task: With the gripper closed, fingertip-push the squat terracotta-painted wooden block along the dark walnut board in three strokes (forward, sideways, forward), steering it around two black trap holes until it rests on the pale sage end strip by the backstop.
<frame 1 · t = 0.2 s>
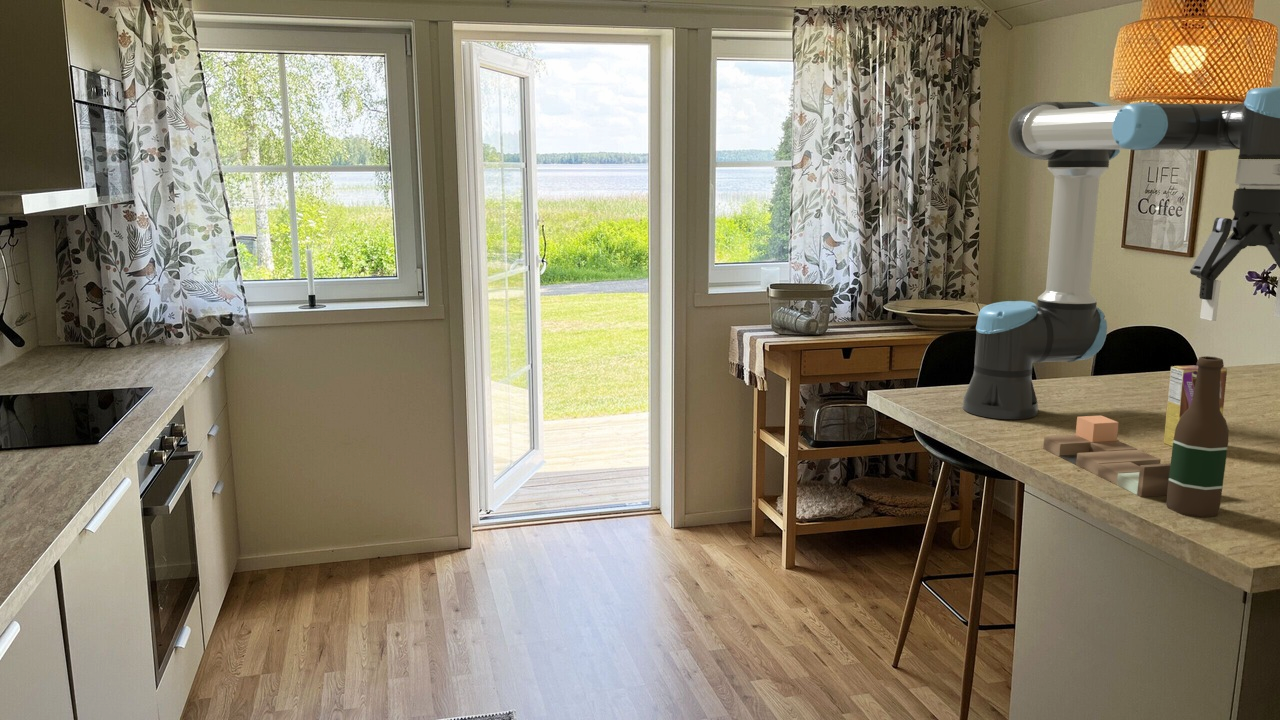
hand: (1245, 318, 160), 28 cm above the countertop, fingers open, 13 cm apart
candy box: (1190, 446, 185), on the countertop
beer bottle: (1192, 510, 151), on the countertop
board: (1117, 468, 171), on the countertop
block: (1095, 437, 182), point 2 cm above the countertop, touching board
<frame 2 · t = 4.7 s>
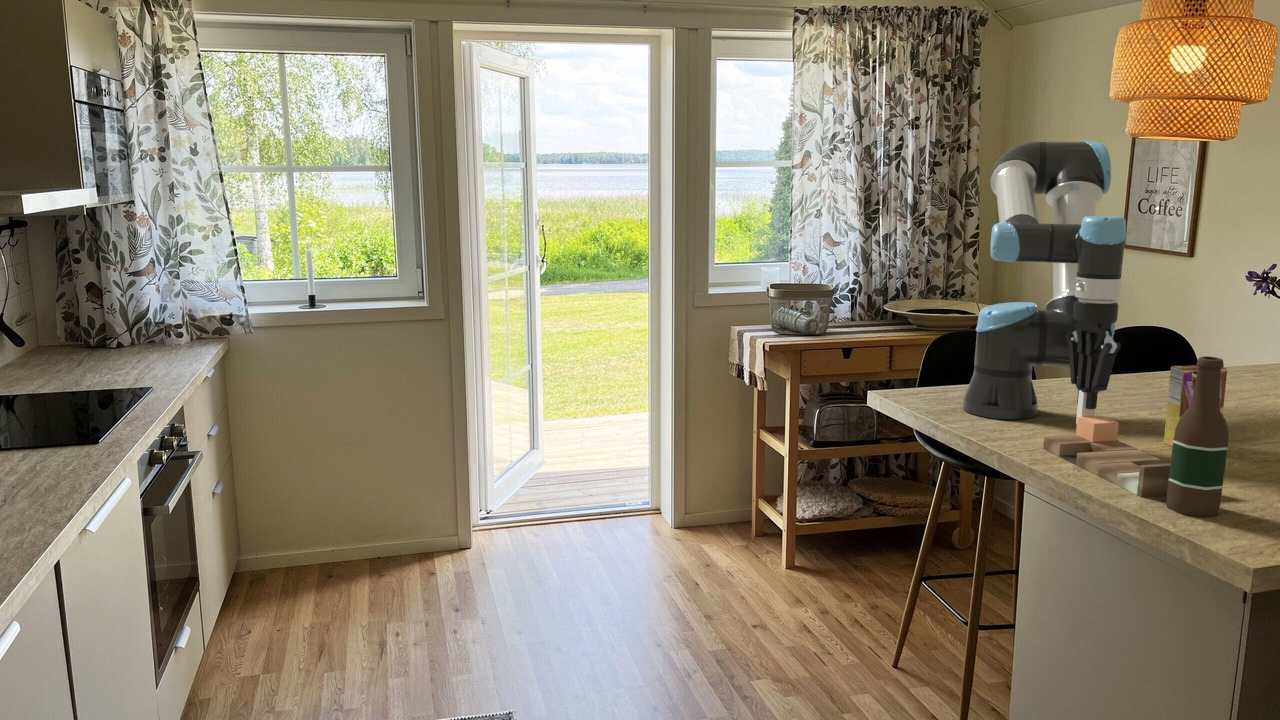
hand: (1084, 424, 184), 4 cm above the countertop, fingers closed
block: (1096, 437, 181), point 2 cm above the countertop, touching gripper
everything else where it was.
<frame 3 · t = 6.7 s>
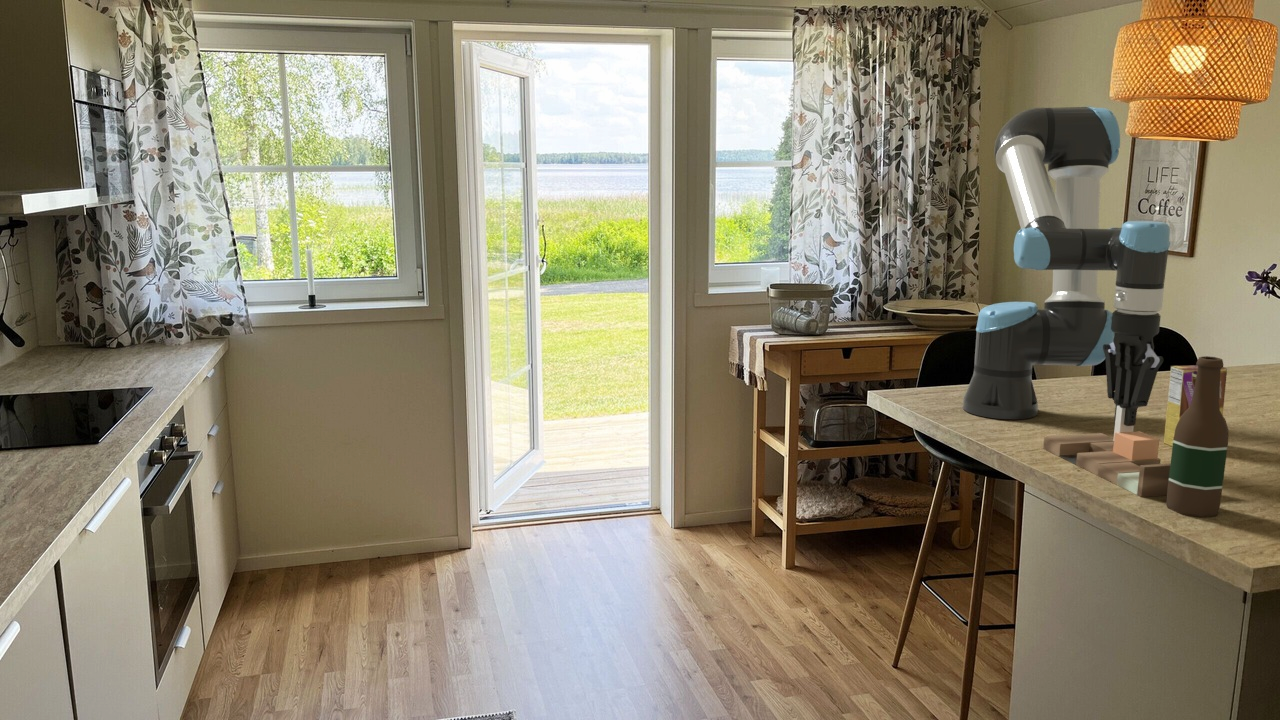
hand: (1122, 441, 174), 4 cm above the countertop, fingers closed
block: (1134, 455, 171), point 2 cm above the countertop, touching board, gripper
everything else where it was.
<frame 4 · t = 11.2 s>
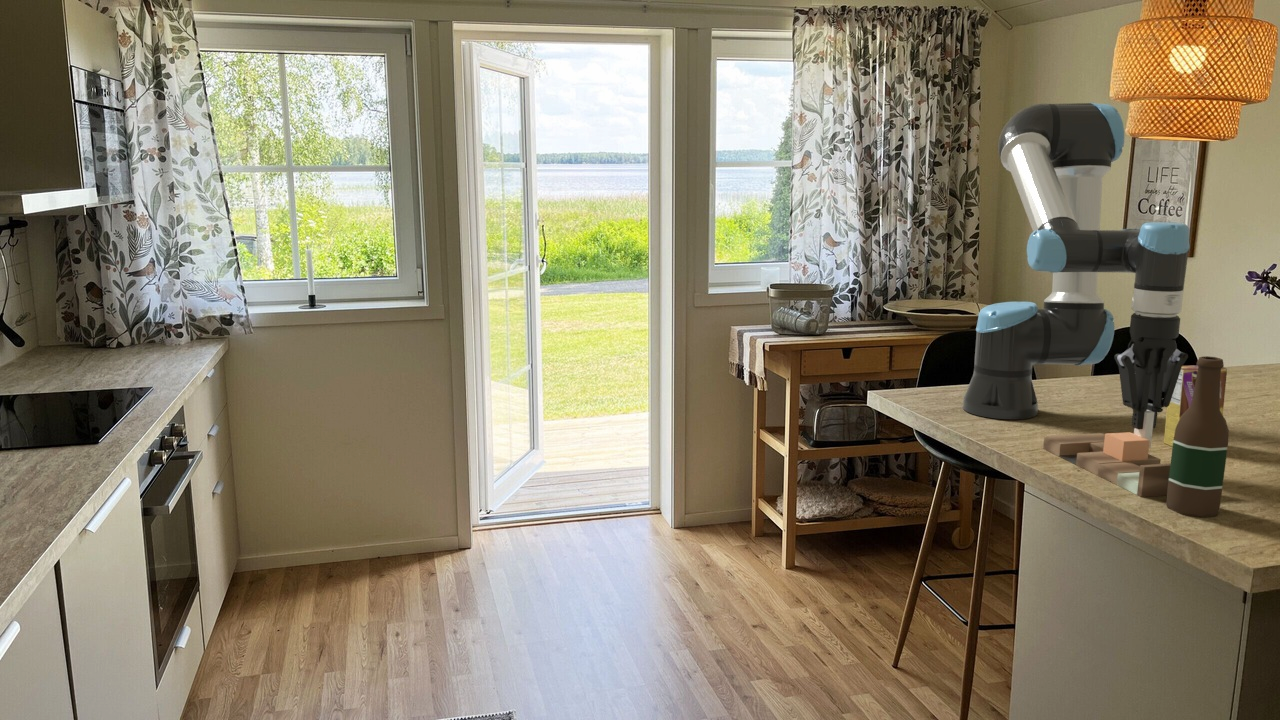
hand: (1141, 446, 171), 4 cm above the countertop, fingers closed
block: (1125, 455, 171), point 2 cm above the countertop, touching board, gripper
everything else where it was.
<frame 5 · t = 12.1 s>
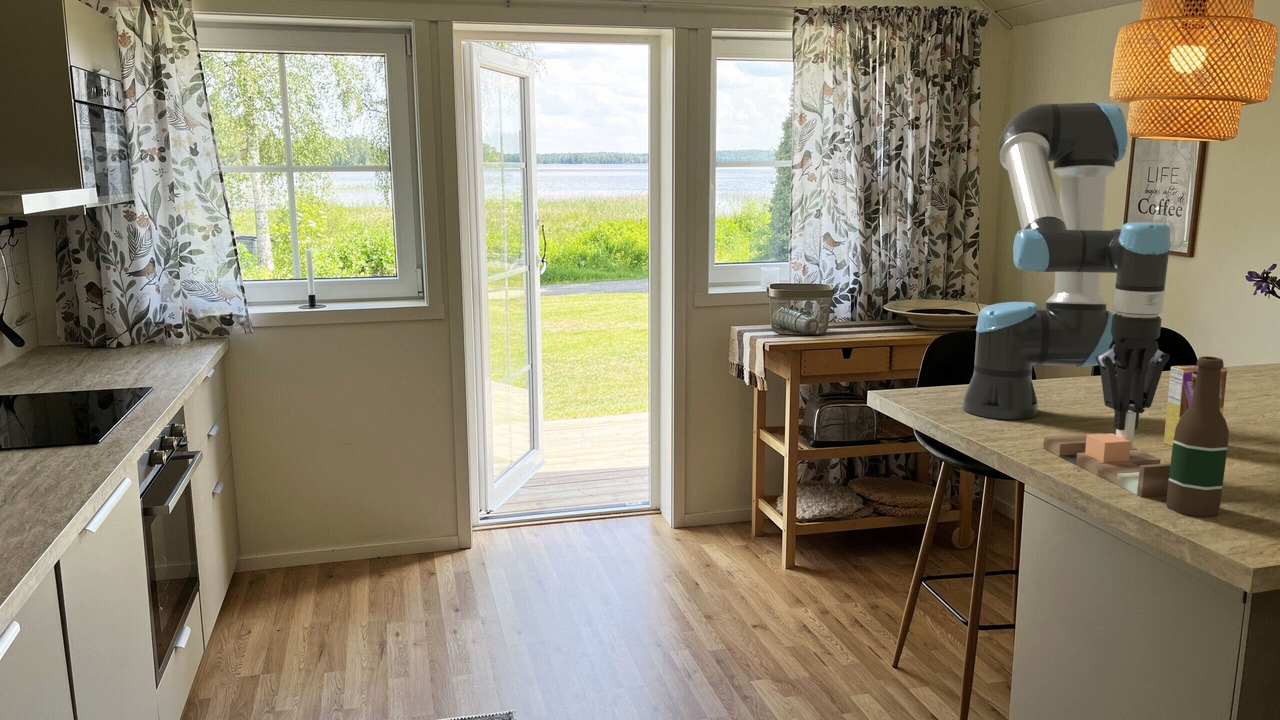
hand: (1123, 447, 171), 4 cm above the countertop, fingers closed
block: (1106, 457, 170), point 2 cm above the countertop, touching gripper
everything else where it was.
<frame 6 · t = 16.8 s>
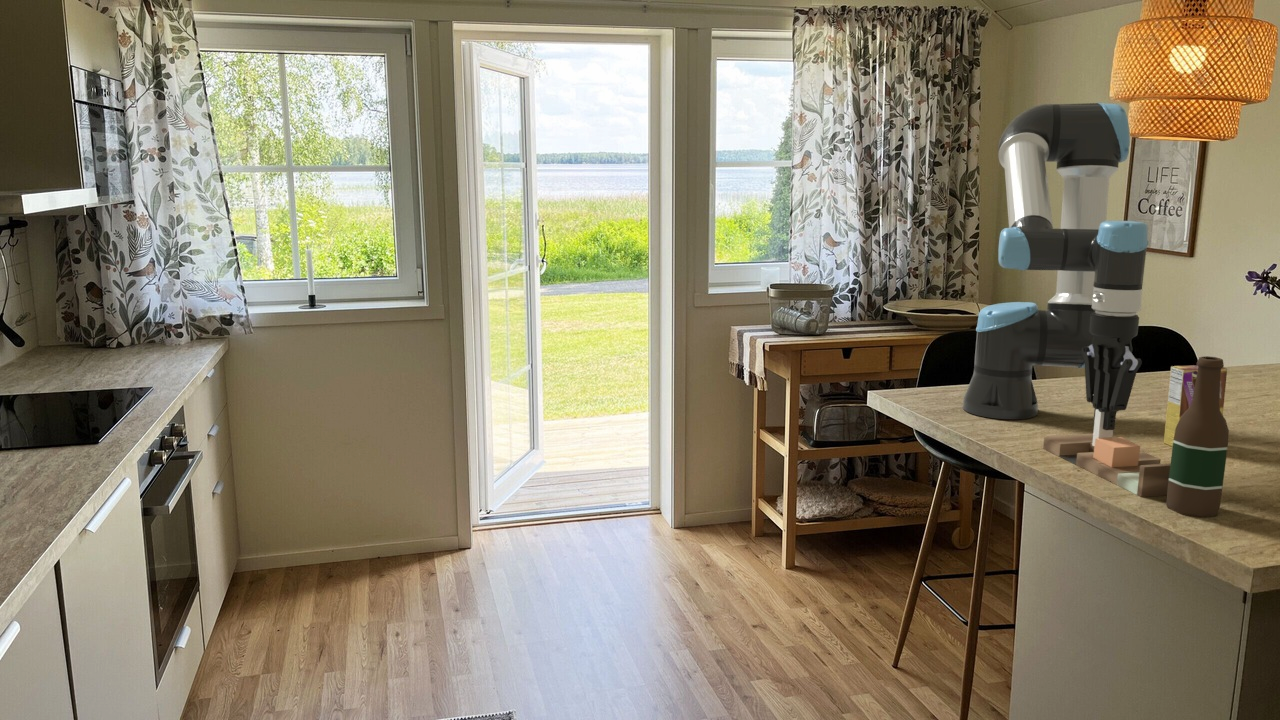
hand: (1101, 446, 170), 4 cm above the countertop, fingers closed
block: (1115, 461, 168), point 2 cm above the countertop, touching gripper
everything else where it was.
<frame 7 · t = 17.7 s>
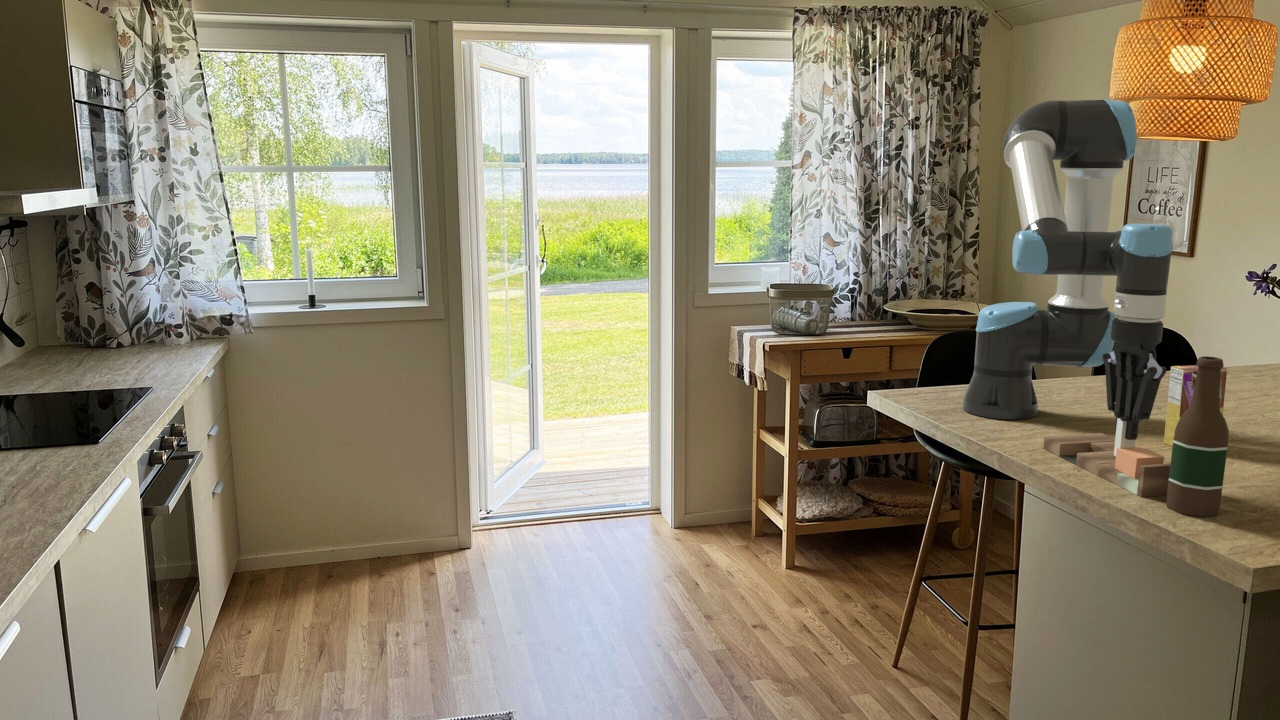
hand: (1123, 456, 165), 4 cm above the countertop, fingers closed
block: (1137, 472, 162), point 2 cm above the countertop, touching board, gripper
everything else where it was.
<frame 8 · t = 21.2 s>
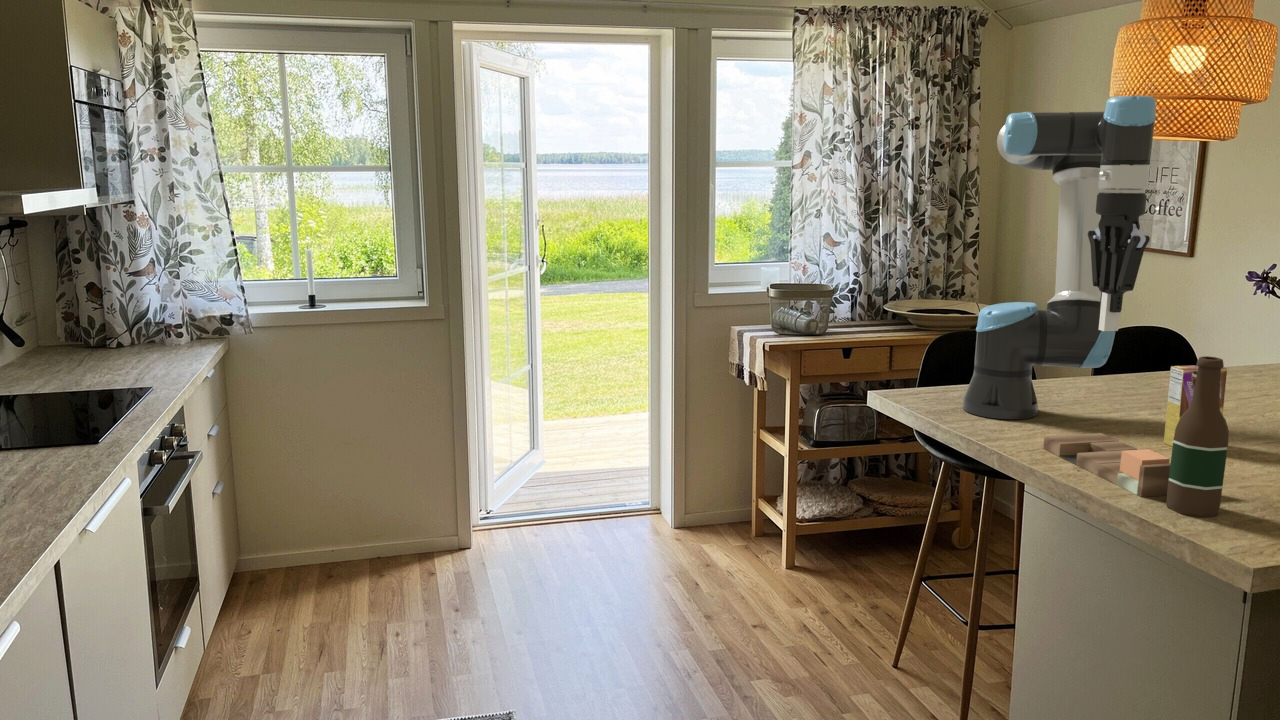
hand: (1108, 330, 168), 24 cm above the countertop, fingers closed
block: (1142, 474, 161), point 2 cm above the countertop, touching board
everything else where it was.
at the end: block inside the target area (2.5 cm from its centre), point 2.1 cm above the countertop; block tilted 1° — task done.
